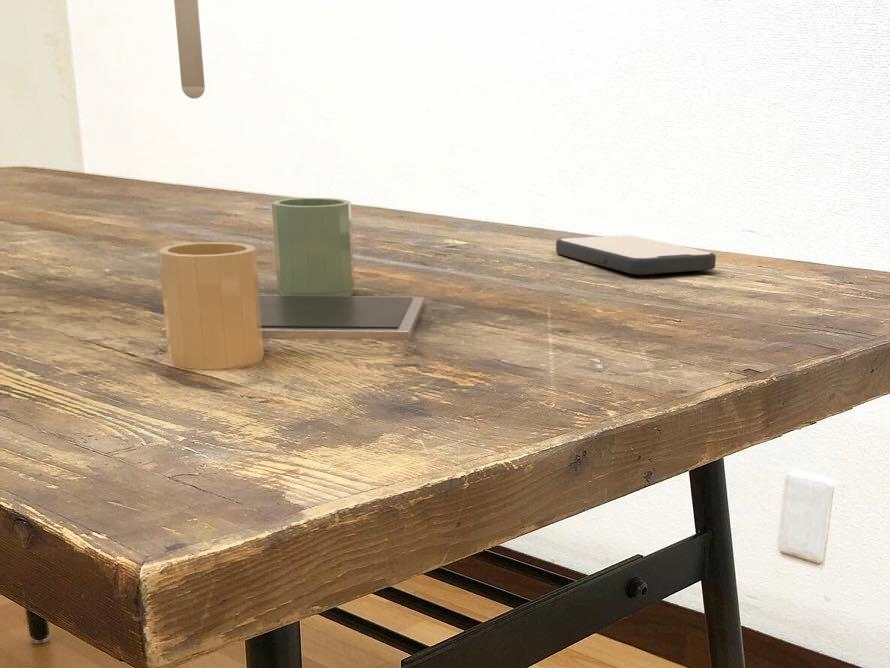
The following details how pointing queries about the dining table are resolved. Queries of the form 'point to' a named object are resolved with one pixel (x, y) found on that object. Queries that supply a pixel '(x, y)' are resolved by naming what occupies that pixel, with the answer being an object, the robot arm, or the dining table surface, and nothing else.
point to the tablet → (338, 317)
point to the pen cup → (313, 247)
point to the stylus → (189, 47)
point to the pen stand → (211, 305)
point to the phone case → (636, 254)
